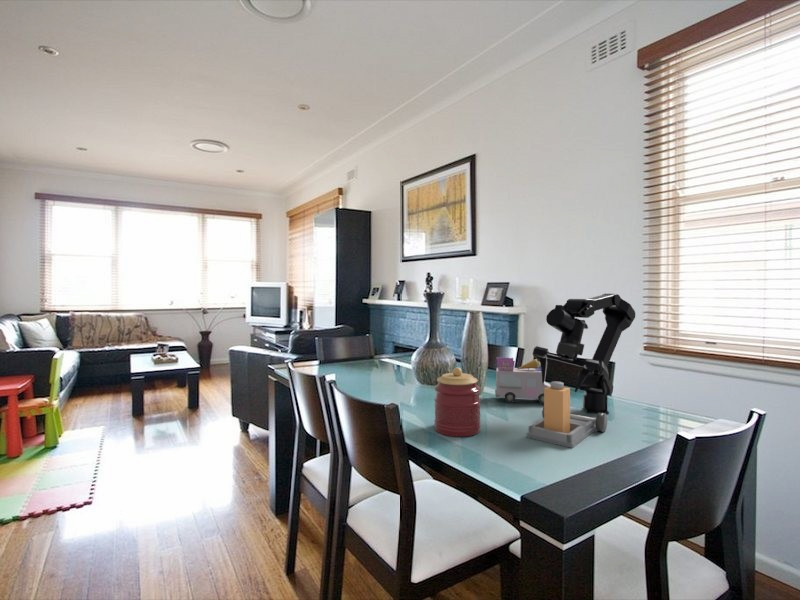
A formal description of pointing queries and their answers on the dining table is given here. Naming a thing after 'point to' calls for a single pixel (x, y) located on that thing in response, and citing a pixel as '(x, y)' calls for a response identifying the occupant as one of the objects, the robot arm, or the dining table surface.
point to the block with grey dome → (557, 407)
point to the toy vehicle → (519, 381)
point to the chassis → (578, 430)
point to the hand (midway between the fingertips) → (558, 387)
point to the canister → (457, 404)
